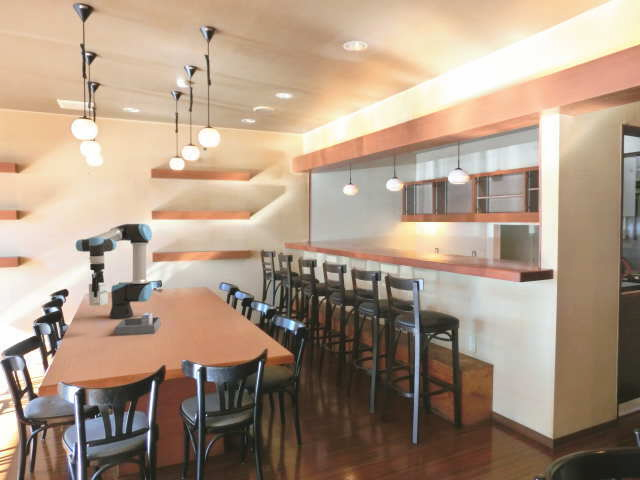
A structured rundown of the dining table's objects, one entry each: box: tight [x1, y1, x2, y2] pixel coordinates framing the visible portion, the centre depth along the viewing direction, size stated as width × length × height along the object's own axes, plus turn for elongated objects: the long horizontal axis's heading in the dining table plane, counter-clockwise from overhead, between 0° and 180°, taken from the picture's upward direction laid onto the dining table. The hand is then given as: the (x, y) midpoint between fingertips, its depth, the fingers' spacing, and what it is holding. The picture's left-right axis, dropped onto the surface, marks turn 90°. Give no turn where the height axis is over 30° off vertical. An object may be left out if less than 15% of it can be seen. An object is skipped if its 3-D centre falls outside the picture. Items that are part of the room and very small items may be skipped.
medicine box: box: [141, 312, 153, 325], centre depth 272 cm, size 8×4×9 cm, turn 6°
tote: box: [114, 316, 162, 337], centre depth 271 cm, size 22×22×5 cm
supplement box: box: [88, 282, 109, 307], centre depth 262 cm, size 7×7×13 cm
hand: (98, 301), depth 262 cm, fingers closed on supplement box, 9 cm apart
